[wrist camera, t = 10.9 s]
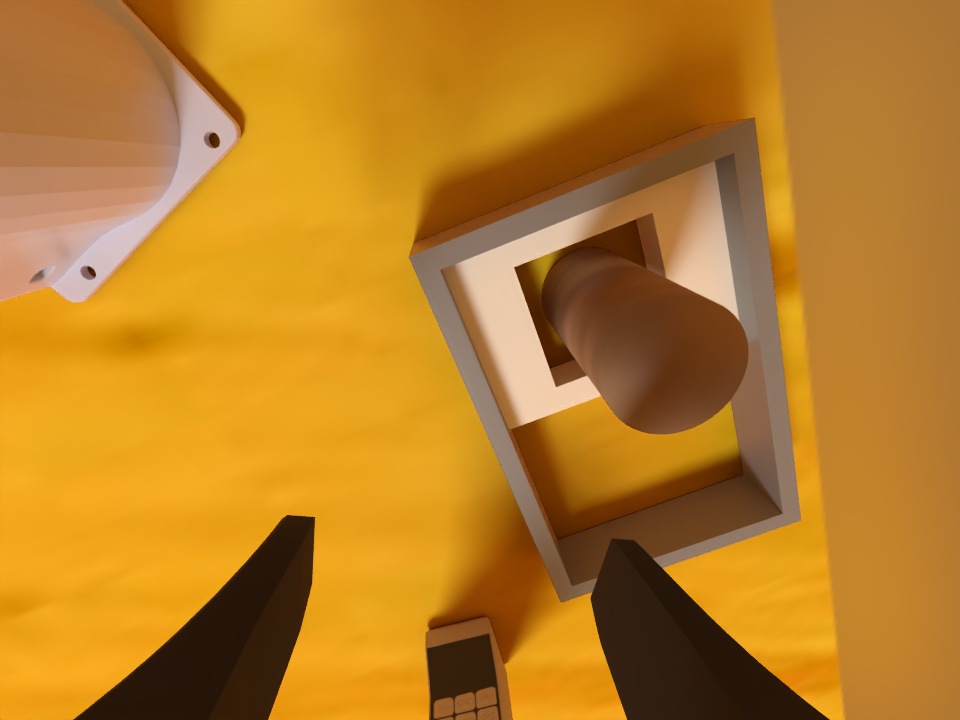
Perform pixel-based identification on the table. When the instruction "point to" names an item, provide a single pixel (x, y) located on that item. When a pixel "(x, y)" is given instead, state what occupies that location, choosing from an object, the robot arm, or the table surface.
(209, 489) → the table surface
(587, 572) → the grey tray
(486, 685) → the vintage mobile phone
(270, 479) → the table surface
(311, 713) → the table surface
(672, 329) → the walnut peg
